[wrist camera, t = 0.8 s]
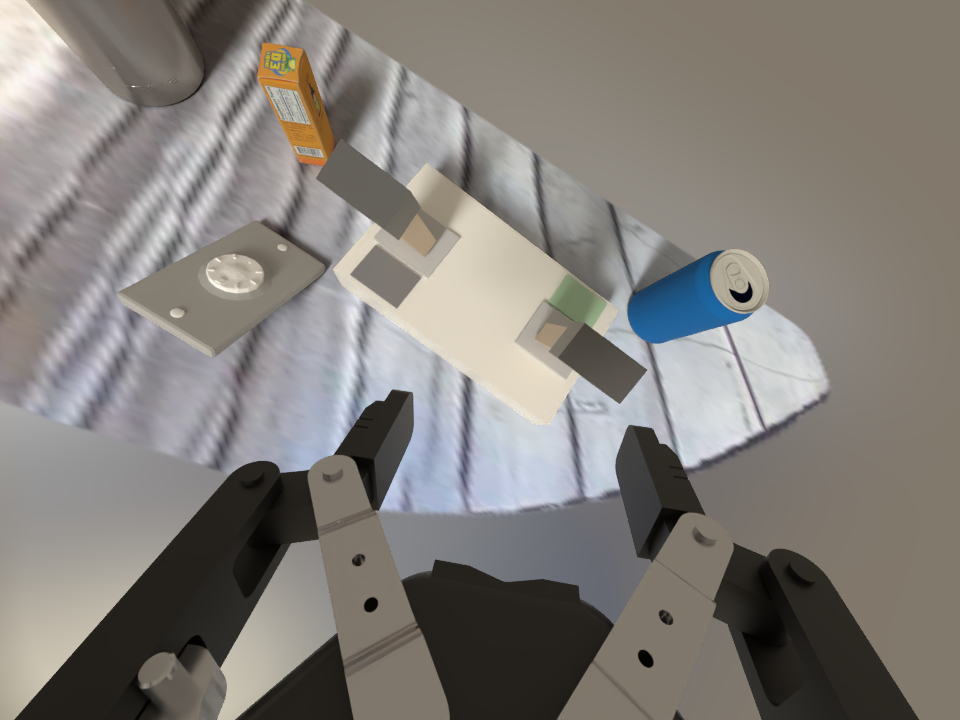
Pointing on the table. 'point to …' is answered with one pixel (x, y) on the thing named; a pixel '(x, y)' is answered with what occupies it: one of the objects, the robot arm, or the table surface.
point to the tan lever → (592, 358)
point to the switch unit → (476, 296)
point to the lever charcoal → (376, 196)
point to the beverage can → (700, 297)
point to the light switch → (224, 287)
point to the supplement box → (296, 102)
